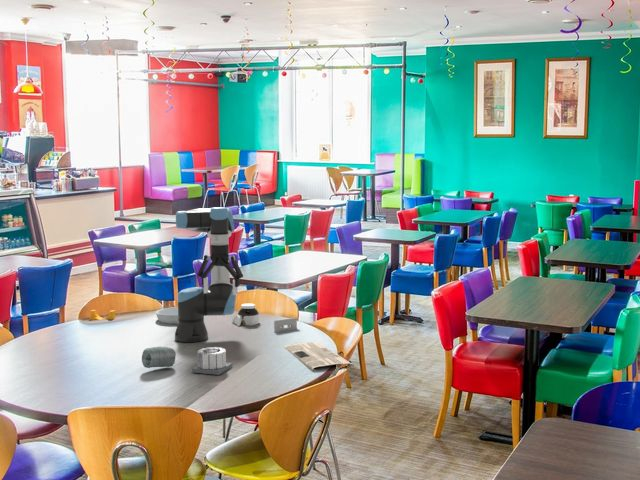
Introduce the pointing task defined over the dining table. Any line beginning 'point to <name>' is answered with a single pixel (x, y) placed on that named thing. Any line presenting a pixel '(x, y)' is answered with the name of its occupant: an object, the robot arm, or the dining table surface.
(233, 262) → the robot arm
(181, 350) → the dining table surface
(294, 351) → the newspaper
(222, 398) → the dining table surface
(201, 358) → the ring
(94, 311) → the pipe clamp
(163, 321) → the serving bowl
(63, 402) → the dining table surface
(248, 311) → the spread jar
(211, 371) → the post block
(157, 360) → the spool
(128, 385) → the dining table surface
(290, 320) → the cassette
